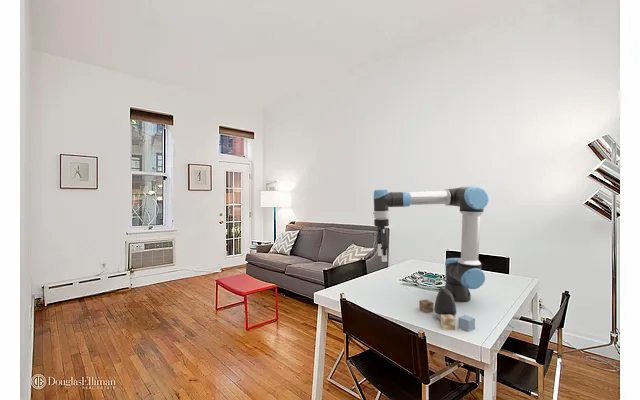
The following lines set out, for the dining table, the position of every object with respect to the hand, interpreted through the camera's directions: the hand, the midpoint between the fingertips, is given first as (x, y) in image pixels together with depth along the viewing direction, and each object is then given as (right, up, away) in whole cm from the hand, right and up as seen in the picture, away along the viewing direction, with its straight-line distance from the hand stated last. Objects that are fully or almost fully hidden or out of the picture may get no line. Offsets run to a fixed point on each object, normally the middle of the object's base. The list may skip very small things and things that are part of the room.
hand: (382, 258), depth 168 cm
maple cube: (+26, -28, -21) cm, 44 cm away
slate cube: (+34, -28, -23) cm, 50 cm away
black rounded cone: (+28, -28, -12) cm, 42 cm away
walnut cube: (+23, -27, -2) cm, 36 cm away
